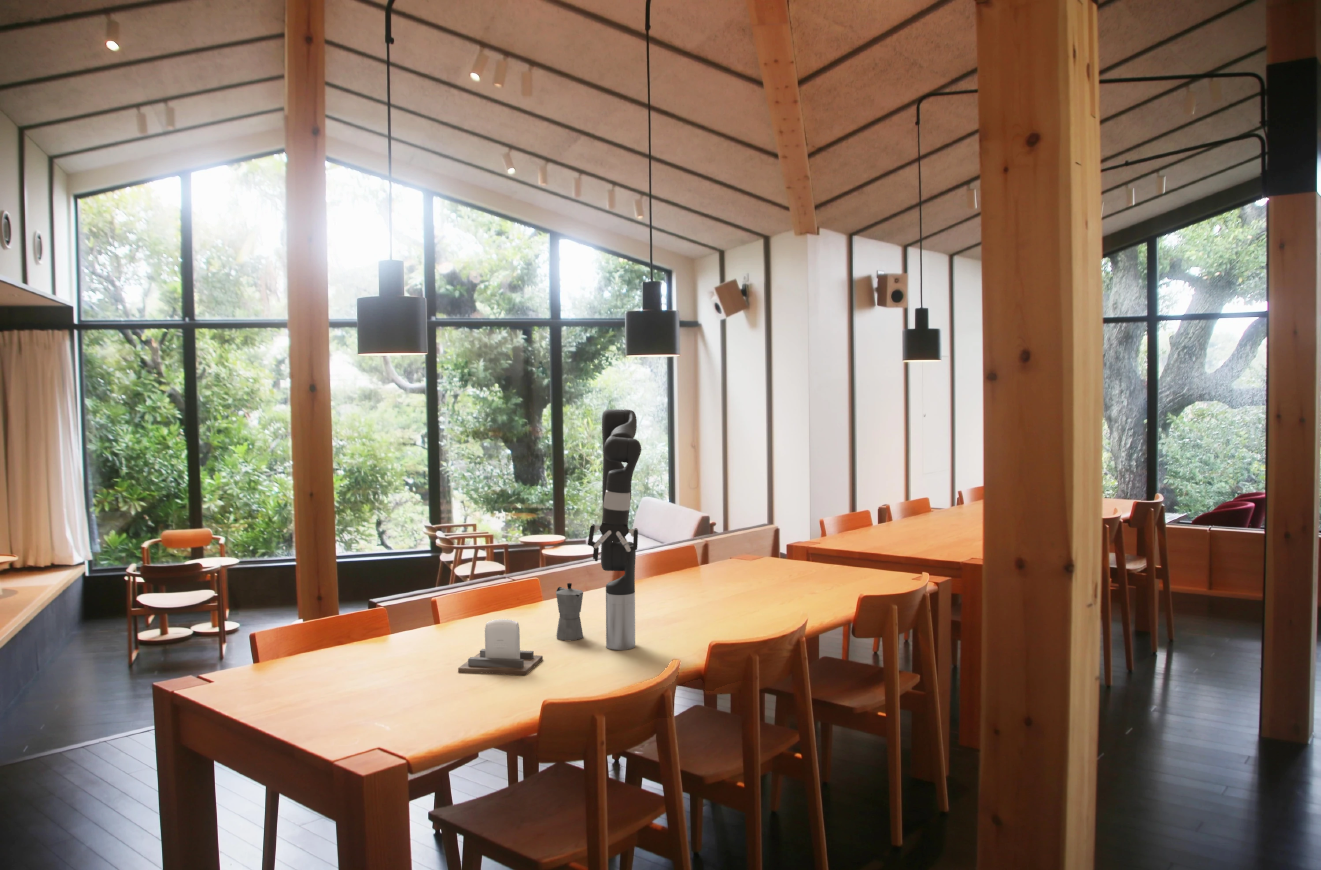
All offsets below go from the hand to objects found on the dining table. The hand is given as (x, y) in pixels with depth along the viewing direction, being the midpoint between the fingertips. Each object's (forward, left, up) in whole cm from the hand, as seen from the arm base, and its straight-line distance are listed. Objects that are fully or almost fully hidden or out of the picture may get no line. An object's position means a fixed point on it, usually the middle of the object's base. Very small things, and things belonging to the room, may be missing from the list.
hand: (610, 562), depth 249 cm
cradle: (+2, -33, -31) cm, 45 cm away
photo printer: (+2, -32, -30) cm, 44 cm away
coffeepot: (-34, -23, -31) cm, 51 cm away
